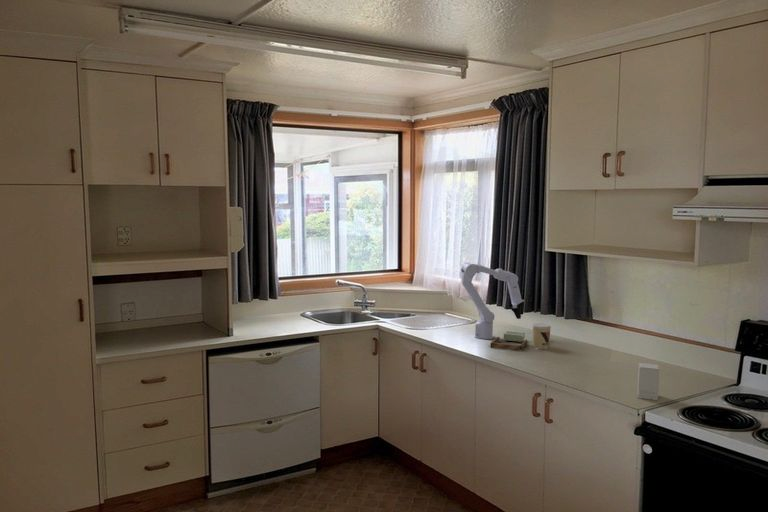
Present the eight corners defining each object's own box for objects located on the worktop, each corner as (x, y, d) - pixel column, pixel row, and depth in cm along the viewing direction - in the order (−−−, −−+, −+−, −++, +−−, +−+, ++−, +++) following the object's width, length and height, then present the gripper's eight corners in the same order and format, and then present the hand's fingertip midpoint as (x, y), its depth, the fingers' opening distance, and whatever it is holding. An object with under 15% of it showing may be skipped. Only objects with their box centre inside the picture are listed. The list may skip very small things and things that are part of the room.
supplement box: (658, 400, 237) (659, 369, 236) (637, 398, 240) (639, 367, 239) (657, 395, 244) (658, 364, 243) (637, 392, 247) (638, 362, 246)
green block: (503, 341, 333) (503, 333, 333) (506, 338, 340) (506, 330, 340) (521, 343, 329) (522, 335, 329) (524, 340, 336) (524, 332, 336)
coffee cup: (543, 350, 314) (543, 327, 312) (528, 347, 321) (528, 324, 320) (553, 347, 320) (554, 325, 318) (538, 344, 327) (539, 322, 326)
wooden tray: (490, 347, 319) (490, 342, 319) (497, 341, 333) (497, 336, 333) (521, 350, 313) (521, 346, 312) (527, 344, 327) (527, 339, 326)
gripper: (519, 296, 334) (524, 319, 336) (524, 289, 347) (529, 311, 349) (507, 298, 337) (512, 321, 339) (512, 290, 350) (517, 313, 352)
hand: (520, 316), depth 344 cm, fingers open, 7 cm apart
